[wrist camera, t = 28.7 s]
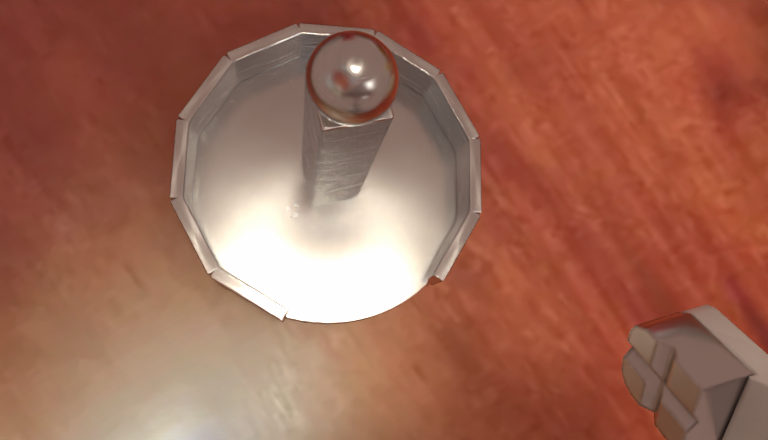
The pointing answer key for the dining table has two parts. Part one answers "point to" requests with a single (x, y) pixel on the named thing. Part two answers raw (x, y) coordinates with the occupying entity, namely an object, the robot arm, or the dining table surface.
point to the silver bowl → (326, 173)
